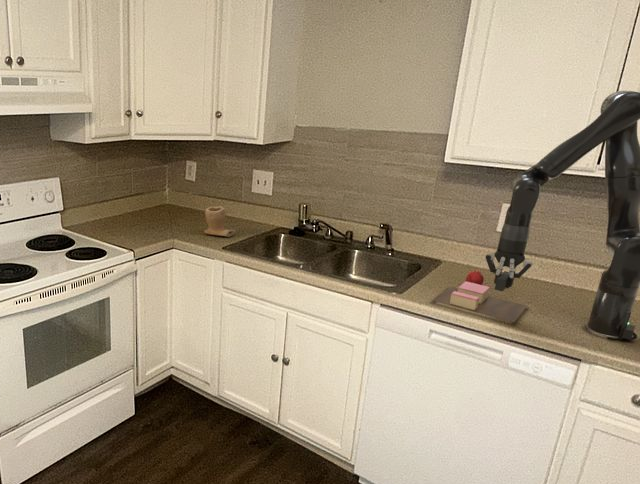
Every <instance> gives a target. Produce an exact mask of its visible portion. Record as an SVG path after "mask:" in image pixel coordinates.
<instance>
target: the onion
mask: <svg viewBox="0 0 640 484" xmlns="http://www.w3.org/2000/svg"><path fill="white" fill-rule="evenodd" d="M465 282H471V283H475V284H479V285H483V284H484V276H483V275H482V273H481V272H480V271H479V269H477V268H476V269H474V270H473V271H471V272H469V273H467V275H466V278H465Z"/></svg>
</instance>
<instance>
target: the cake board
mask: <svg viewBox="0 0 640 484" xmlns="http://www.w3.org/2000/svg"><path fill="white" fill-rule="evenodd" d="M454 291H456V292H458V287H453V286H449V288H447V289H446V290H444V291H443V292H442V293H441V294H440V295H439V296H437V297H435V299H433V300H432V301H433V302H435V303H438V304H443V305H446V306H451V307H454V308H457V309H462V310H465V311H469V312H473V313H476V314H480V315H484V316H488V317H491V318H494V319H498V320H501V321H506V322H509V323H513V324H514V323H515V322H516V321H517V319H519V317H520V316H521V315H522V313H523V312H524V310H525V309H527V307H528V305H527V304H522V303H519V302H514V301H511V300H506V299H502V298H497V297H495V296H490V295H488V297H487V298H486V299H485V300H484V301H483V302H482V303H481V304H480V303H478V306H477V308H476V309H475V310H472V309H468V308H464V307H461V306H457V305H453V304H450V299H451V294H452V293H453V292H454Z"/></svg>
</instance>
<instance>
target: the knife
mask: <svg viewBox="0 0 640 484" xmlns="http://www.w3.org/2000/svg"><path fill="white" fill-rule="evenodd" d="M509 273H510V271H509V270H508V271H506V270H504V271H502V273H501V275H500V276H499V277H498V278H497V281H496V284H494V285H495V286H494V290H495V291H499V292H504V291H505V290H506V289H507V288H506V285H507V281H508V278H509Z"/></svg>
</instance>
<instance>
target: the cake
mask: <svg viewBox="0 0 640 484" xmlns="http://www.w3.org/2000/svg"><path fill="white" fill-rule="evenodd" d="M457 288H458V292H460V293H464V294H468V295H472V296H476V297H479V301H478V303H480V304H481V303H482V302H483V301H484V300H485V299H486V298H487V297H488V296H489V293H490V289H491V287H490V286H487V285H483V284H482V285H479V284H475V283H471V282H466V281H464V282H463V283H462V284H461V285H459V286H458V287H457Z"/></svg>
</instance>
